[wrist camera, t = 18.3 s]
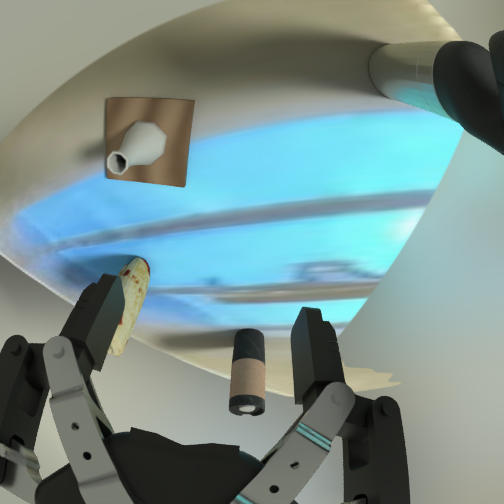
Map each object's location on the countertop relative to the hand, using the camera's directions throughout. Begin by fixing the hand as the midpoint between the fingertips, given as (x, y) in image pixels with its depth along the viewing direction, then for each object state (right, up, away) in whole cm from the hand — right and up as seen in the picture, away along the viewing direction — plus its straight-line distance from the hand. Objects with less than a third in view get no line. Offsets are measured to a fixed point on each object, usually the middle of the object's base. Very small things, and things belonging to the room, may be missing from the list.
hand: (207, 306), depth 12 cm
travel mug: (+1, -19, +55) cm, 58 cm away
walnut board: (-14, +20, +27) cm, 36 cm away
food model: (-21, -1, +43) cm, 48 cm away
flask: (-14, +19, +26) cm, 36 cm away
